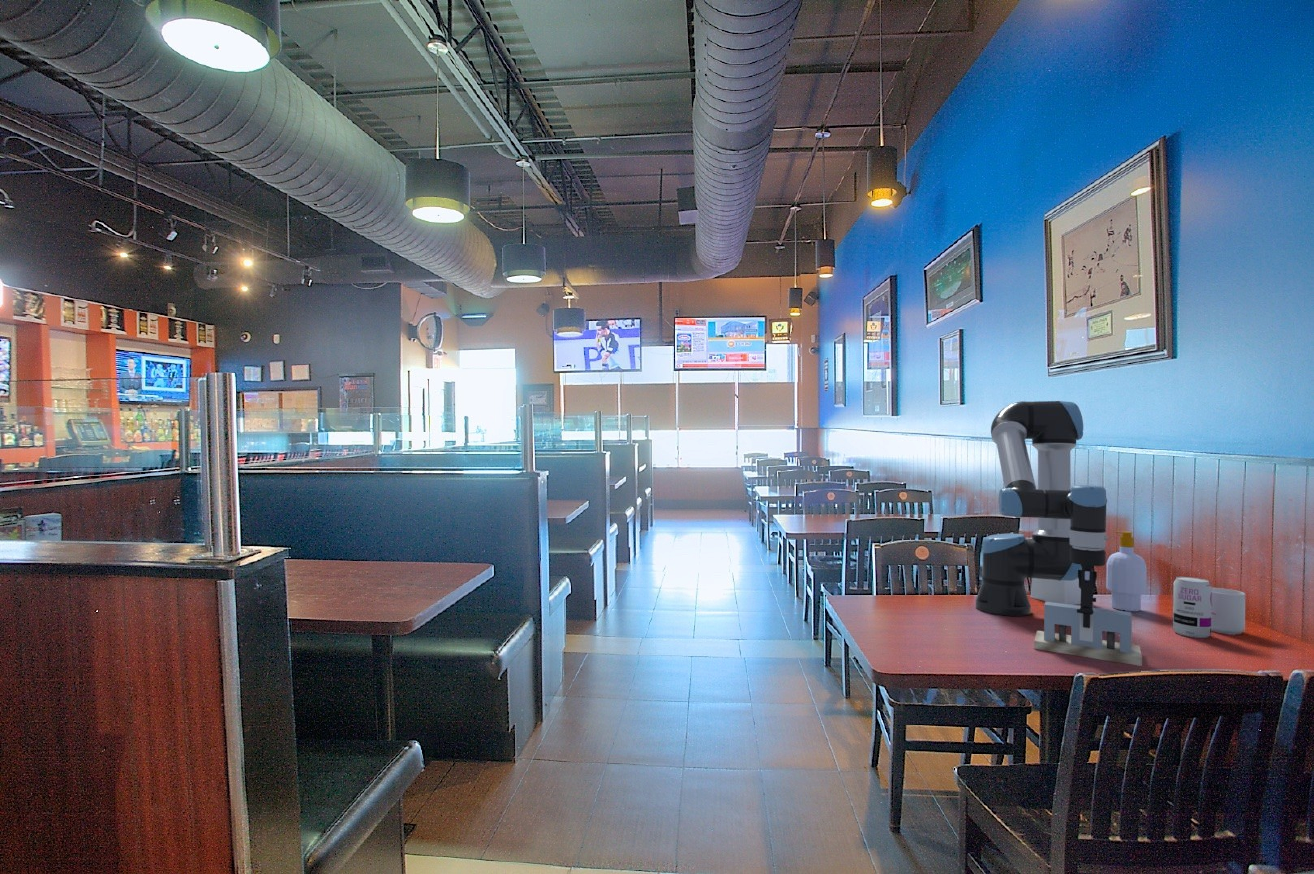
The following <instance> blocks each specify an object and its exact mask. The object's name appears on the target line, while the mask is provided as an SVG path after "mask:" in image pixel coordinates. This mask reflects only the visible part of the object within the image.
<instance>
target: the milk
mask: <svg viewBox="0 0 1314 874" xmlns="http://www.w3.org/2000/svg"><path fill="white" fill-rule="evenodd" d="M1030 598H1031V599H1034V600H1035V599H1036V600H1039V601H1043V602H1045V601H1046V602H1054V603H1062V604H1070V605H1081V589H1080V588H1079V579H1078V578H1077V579H1075V580H1072V581H1068V580H1061V581H1058V580H1051V579H1037V578H1031V585H1030Z"/></svg>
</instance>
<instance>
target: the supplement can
mask: <svg viewBox="0 0 1314 874" xmlns="http://www.w3.org/2000/svg"><path fill="white" fill-rule="evenodd" d="M1172 583H1173V584H1172V585H1173V586H1172V588H1173V589H1172V591H1173V592H1172V593H1173V597H1172V603H1173V604H1172V630H1173V631H1175V633H1176V634H1178V635H1181V636H1184V637H1188V638H1197V639H1207V638H1209V637H1210V636H1212V631H1211V598H1212V588H1213V587H1212V585H1211V584H1210V581H1209V580H1207V579H1204V578H1200V577H1199V578H1198V577H1192V576H1176V578H1175V580H1174V581H1173V582H1172Z"/></svg>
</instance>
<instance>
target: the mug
mask: <svg viewBox="0 0 1314 874" xmlns="http://www.w3.org/2000/svg"><path fill="white" fill-rule="evenodd" d="M1245 630H1246V593H1245V592H1243V591H1240V590H1235V589H1231V588H1230V589H1229V588H1222V587H1212V598H1211V632H1214V633H1219V634H1223V635H1232V636H1234V635H1236V634H1238V635H1241V634H1243V633H1244V631H1245ZM1240 633H1241V634H1240ZM1236 636H1237V635H1236Z"/></svg>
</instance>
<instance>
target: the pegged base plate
mask: <svg viewBox="0 0 1314 874" xmlns="http://www.w3.org/2000/svg"><path fill="white" fill-rule="evenodd" d="M1067 627H1068V626H1066V625H1059V624H1058V631H1059V632H1055V640H1054V642H1052V641H1046V640H1044V630H1036V634H1035V637H1034V640H1033V649H1034V650H1039V651H1048V652H1052V653H1058V654H1065V655H1072V656H1077V657H1083V658H1087V659H1088V658H1089V659H1096V660H1101V661H1108V662H1114V663H1115V662H1116V663H1118V664H1119V663H1121V664H1126V665H1127V664H1128V665H1133V666H1139V667H1143V655H1142V652H1141V645H1137V644H1132V643H1131V654H1130V653H1124V652H1120V642H1117V641H1115V640H1116V632H1109V631H1106V640H1104V639H1102V649H1098V648H1091V647H1085V646H1078V645H1072V644H1071V634H1067V633H1068V632H1067V630H1068V629H1067Z"/></svg>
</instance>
